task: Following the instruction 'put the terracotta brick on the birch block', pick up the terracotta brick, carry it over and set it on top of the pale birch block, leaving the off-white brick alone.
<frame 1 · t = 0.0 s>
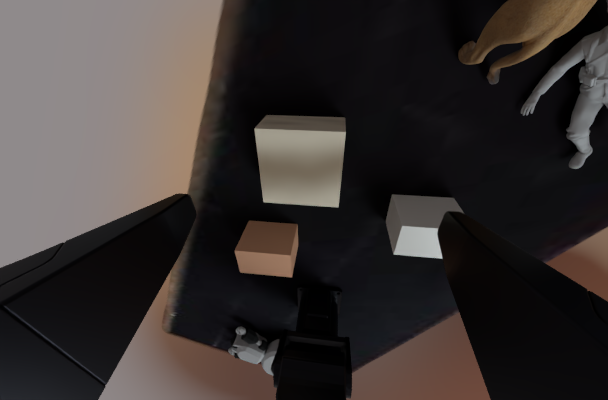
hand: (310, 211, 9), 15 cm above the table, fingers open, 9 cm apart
terracotta brick: (274, 232, 30), on the table
off-white brick: (417, 209, 25), on the table
robot toy: (271, 338, 47), on the table
birch block: (305, 151, 23), on the table
soldier figure: (582, 89, 18), on the table
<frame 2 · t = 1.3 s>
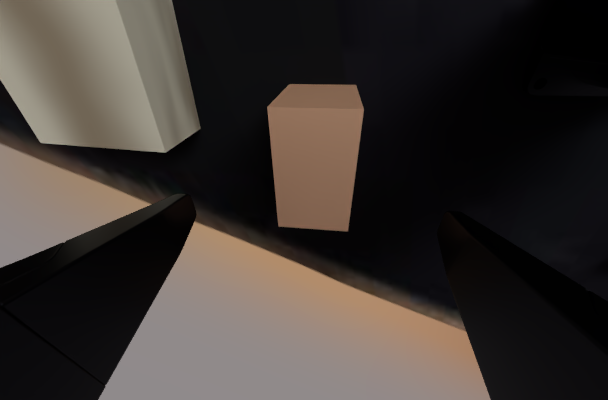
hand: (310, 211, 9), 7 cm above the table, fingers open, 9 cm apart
terracotta brick: (320, 137, 15), on the table
birch block: (130, 62, 14), on the table
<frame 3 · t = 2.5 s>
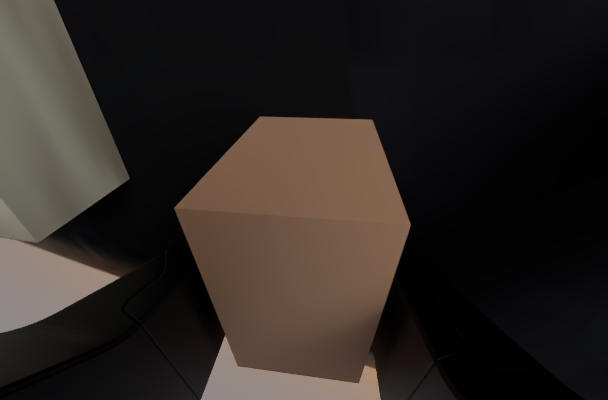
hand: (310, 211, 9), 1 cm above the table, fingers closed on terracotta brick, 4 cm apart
terracotta brick: (313, 195, 9), on the table, touching gripper
birch block: (4, 78, 8), on the table
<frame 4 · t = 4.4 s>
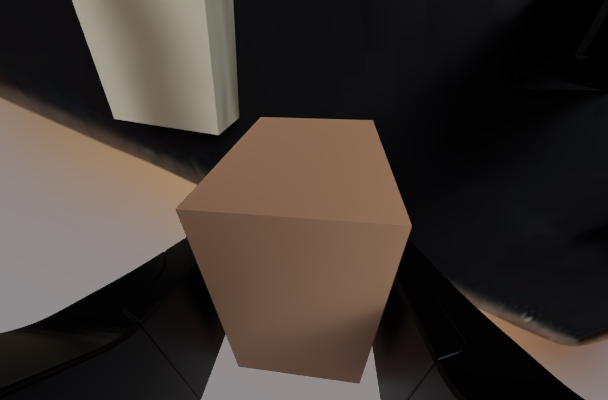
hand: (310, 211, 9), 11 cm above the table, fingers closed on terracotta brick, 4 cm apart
terracotta brick: (313, 196, 9), point 10 cm above the table, touching gripper
birch block: (188, 58, 17), on the table
when the fingers open (6 cm above the table, at t = 6.5 s): terracotta brick drops 2 cm, resting on birch block.
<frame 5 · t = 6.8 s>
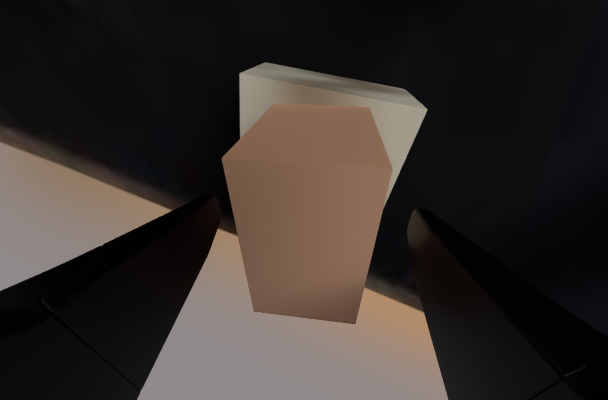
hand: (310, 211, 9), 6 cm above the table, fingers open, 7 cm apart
terracotta brick: (317, 174, 11), point 4 cm above the table, touching birch block
birch block: (321, 140, 14), on the table, touching terracotta brick
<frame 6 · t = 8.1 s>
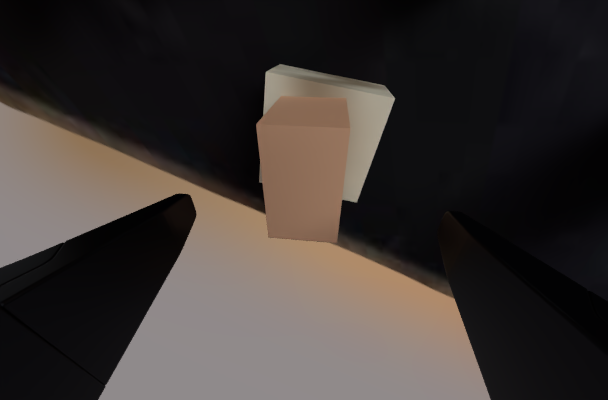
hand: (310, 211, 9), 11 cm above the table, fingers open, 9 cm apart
terracotta brick: (311, 148, 15), point 4 cm above the table, touching birch block
birch block: (321, 125, 18), on the table, touching terracotta brick
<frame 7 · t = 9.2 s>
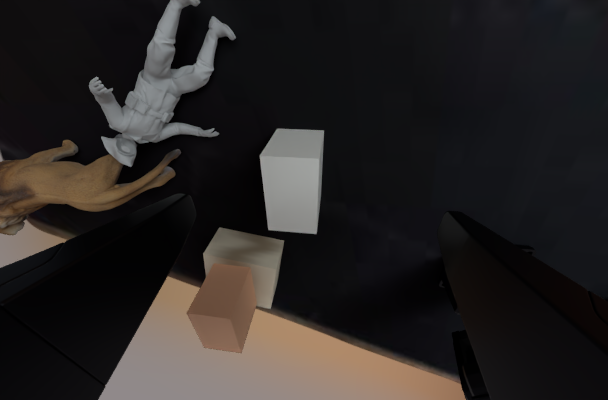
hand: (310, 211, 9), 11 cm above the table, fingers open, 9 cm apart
terracotta brick: (236, 284, 24), point 4 cm above the table, touching birch block
off-white brick: (300, 164, 20), on the table
birch block: (251, 253, 28), on the table, touching terracotta brick
lion figurine: (114, 162, 22), on the table
soldier figure: (180, 84, 18), on the table
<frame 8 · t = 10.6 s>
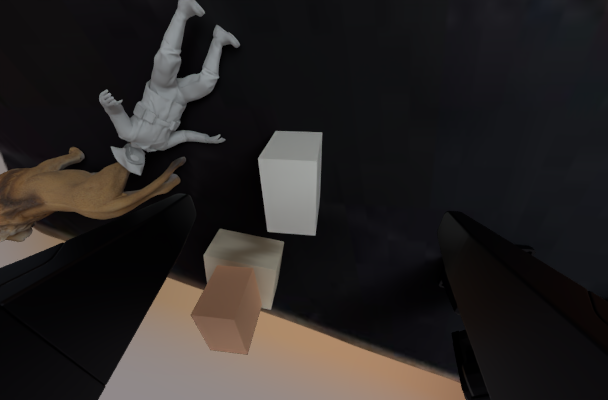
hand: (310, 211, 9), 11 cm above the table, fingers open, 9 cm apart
terracotta brick: (240, 285, 24), point 4 cm above the table, touching birch block
off-white brick: (299, 166, 20), on the table
birch block: (251, 255, 28), on the table, touching terracotta brick
lion figurine: (119, 168, 23), on the table
soldier figure: (186, 93, 18), on the table
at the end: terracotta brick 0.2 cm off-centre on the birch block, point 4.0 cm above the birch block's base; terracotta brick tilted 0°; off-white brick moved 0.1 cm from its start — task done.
